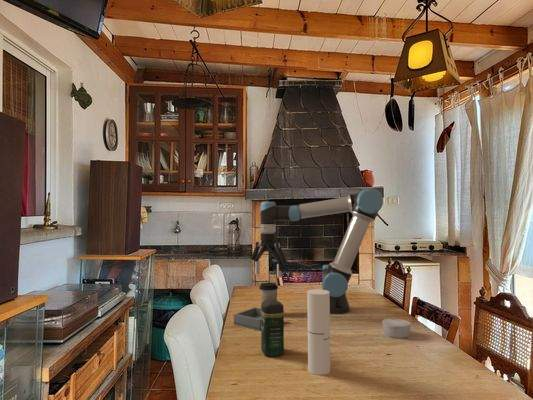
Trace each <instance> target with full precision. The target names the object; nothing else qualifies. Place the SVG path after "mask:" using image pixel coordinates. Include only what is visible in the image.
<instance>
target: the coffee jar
mask: <svg viewBox="0 0 533 400" xmlns="http://www.w3.org/2000/svg"><path fill="white" fill-rule="evenodd" d="M260 308H261V330H260V331H261V332H260V333H261V335H260V339H261V340H260V341H261V342H260V345H261V346H260V347H261V352H262V353H263V355H264V356H269V357H279V356H281V355H283V354H284V353H285V339H284V337H285V331H284V330H285V329H284V326H285V325H284V323H285V322H284V321H285V319H284V317H285V315H284V314H285V313H284V312H285V310H284V304H283V303H282V302H280V301H279V300H278V299H277V300H275V299H267V300H265V301H263V302H262V304H261V303H260Z"/></svg>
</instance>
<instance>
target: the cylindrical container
mask: <svg viewBox="0 0 533 400" xmlns="http://www.w3.org/2000/svg"><path fill="white" fill-rule="evenodd" d="M306 295H307V296H306V297H307V298H306V299H307V305H306V306H307V371H308V372H309V373H310V374H313V375H316V376H324V375H328V374H330V373H331V313H330V292H329V291H327V290H323V289H309V290H307V291H306Z"/></svg>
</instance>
